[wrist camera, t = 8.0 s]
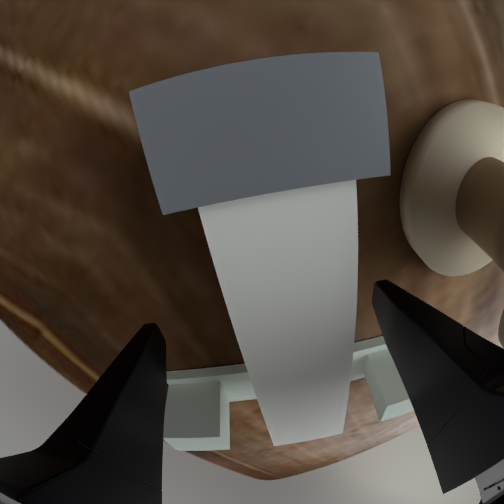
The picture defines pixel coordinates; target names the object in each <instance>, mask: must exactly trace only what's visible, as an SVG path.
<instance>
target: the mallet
mask: <svg viewBox="0 0 504 504" xmlns="http://www.w3.org/2000/svg"><path fill="white" fill-rule="evenodd" d="M129 95H130V99H131V103H132V107H133V112H134V116H135V120H136V124H137V127H138V131H139V135H140V139H141V143H142V146H143V150H144V154H145V157H146V161H147V164H148V168H149V171H150V175H151V178H152V182H153V185H154V188H155V192H156V195H157V198H158V201H159V205H160V208H161V211H162V214H163V215H166V214H170V213H175V212H179V211H184V210H188V209H193V208H198V210H199V214H200V218H201V221H202V225H203V228H204V232H205V235H206V239H207V242H208V246H209V249H210V253H211V256H212V260H213V263H214V267H215V270H216V273H217V277H218V280H219V283H220V287H221V290H222V293H223V296H224V300H225V303H226V306H227V309H228V313H229V316H230V319H231V322H232V325H233V328H234V331H235V335H236V338H237V341H238V344H239V347H240V350H241V353H242V356H243V359H244V362H245V365H246V368H247V371H248V374H249V377H250V380H251V383H252V386H253V389H254V392H255V394H256V397H257V400H258V403H259V406H260V409H261V412H262V414H263V417H264V420H265V423H266V425H267V428H268V431H269V434H270V436H271V439H272V442H273V445H274V446H278V445H285V444H292V443H298V442H304V441H309V440H314V439H319V438H324V437H329V436H333V435H337V434H342V433H343V428H344V422H345V416H346V409H347V403H348V395H349V388H350V380H351V371H352V361H353V351H354V339H355V326H356V309H357V286H358V211H357V188H356V180H358V179H365V178H373V177H381V176H389V175H391V171H390V147H389V131H388V119H387V108H386V99H385V91H384V83H383V76H382V69H381V63H380V57H379V52H324V53H307V54H295V55H285V56H276V57H268V58H261V59H255V60H248V61H242V62H237V63H231V64H226V65H221V66H216V67H212V68H207V69H203V70H199V71H195V72H191V73H187V74H183V75H179V76H176V77H172V78H169V79H165V80H162V81H159V82H156V83H152V84H149V85H146V86H143V87H140V88H137V89H135V90H132V91H129Z"/></svg>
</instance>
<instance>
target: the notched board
mask: <svg viewBox="0 0 504 504" xmlns="http://www.w3.org/2000/svg"><path fill="white" fill-rule="evenodd" d="M364 377H365V378H366V381H367V384H368V387H369V390H370V393H371V396H372V399H373V402H374V405H375V408H376V411H377V414H378V417H379V421H380V422H382V421H385V420H388V419H391V418H394V417H397V416H400V415H403V414H406V413H409V412H411V411H414V409H413V406H412V404H411V401H410V399H409V396H408V394H407V391H406V389H405V387H404V384H403V382H402V380H401V377H400V375H399V373H398V370H397V368H396V366H395V364H394V361H393V359H392V357H391V355H390V352H389V350H388V348H387V346H386V343H385V340H384V338H383V336H379V337H376V338H372V339H368V340H364V341H360V342H356V343H354V351H353V361H352V371H351V380H350V381H353V380H357V379H361V378H364ZM167 383H168V384H169V386H168V393H167V400H166V408H165V416H164V432H163V439H164V440H165V441H166V442H167V443H168V444H170V445H171V446H172V447H173V448H174V449H176V450H178V451H179V450H180V451H202V450H227V449H230V430H229V402H233V401H242V400H251V399H257V397H256V394H255V392H254V389H253V386H252V383H251V380H250V377H249V374H248V371H247V368H246V365H245V363H244V364H237V365H229V366H220V367H211V368H201V369H190V370H178V371H167Z"/></svg>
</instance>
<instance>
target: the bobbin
mask: <svg viewBox="0 0 504 504" xmlns="http://www.w3.org/2000/svg"><path fill="white" fill-rule="evenodd" d="M399 210H400V218H401V223H402V227H403V231H404V234H405V236H406V239H407V241H408V242H409V244H410V246H411V247H412V248H413V250H414V251H415V252H416V253H417V254H418V256H419V257H420V258H421V259H422V260H423V262H424V263H425V264H426V265H427V266H428V267H429V268H430V269H431V270H433V271H434V272H436V273H438V274H441V275H445V276H462V275H466V274H469V273H472V272H475V271H477V270H479V269H480V268H482V267H484V266H485V265H487V264H488V263H490V262H491V261H492V260H493V261H494V262H495V263H496V264H497V265H498V266H499V267H500V268H501V269H502V270H503V271H504V108H503V107H501V106H499V105H495V104H492V103H488V102H484V101H480V100H476V99H465V100H459V101H456V102H454V103H451V104H449V105H447V106H446V107H444V108H442V109H441V110H440V111H439V112H437V113H436V114H435V115H434V116H433V117H432V118H431V119H430V120H429V121H428V123H427V124H426V125H425V126H424V128H423V129H422V131H421V132H420V133H419V135H418V137H417V139H416V140H415V142H414V144H413V146H412V148H411V151H410V153H409V156H408V158H407V161H406V164H405V168H404V171H403V176H402V181H401V186H400V197H399ZM498 336H499V341H500V343H501V345H502V346H503V348H504V310H503V313H502V316H501V320H500V324H499V332H498Z"/></svg>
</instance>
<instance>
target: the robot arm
mask: <svg viewBox="0 0 504 504" xmlns="http://www.w3.org/2000/svg"><path fill="white" fill-rule="evenodd" d="M372 305H373V308H374V311H375V314H376V317H377V320H378V323H379V325H380V328H381V331H382V335H383V338H384V340H385V343H386V346H387V348H388V350H389V352H390V355H391V357H392V359H393V361H394V364H395V366H396V368H397V370H398V373H399V375H400V377H401V380H402V382H403V384H404V387H405V389H406V391H407V394H408V396H409V399H410V401H411V404H412V406H413V409H414V411H415V414H416V416H417V419H418V422H419V424H420V427H421V429H422V432H423V435H424V438H425V440H426V443H427V446H428V449H429V452H430V455H431V458H432V461H433V464H434V467H435V470H436V472H437V476H438V479H439V482H440V485H441V489H442V492H443V494H444V493H446V492H448V491H450V490H452V489H454V488H456V487H458V486H460V485H462V484H464V483H466V482H467V481H469V480H471V479H473V478H475V479H476V482H477V484H478V488H479V491H480V496H481V501H480V503H479V504H504V349H503V348H501V347H499V346H497V345H495V344H493V343H492V342H490V341H488V340H486V339H484V338H482V337H481V336H479V335H478V334H476V333H474V332H473V331H471V330H469V329H468V328H466V327H463V325H461V324H460V323H458V322H456V321H455V320H453V319H452V318H450V317H448V316H447V315H445V314H444V313H442V312H440V311H439V310H437V309H435V308H434V307H432V306H430V305H429V304H427V303H425V302H424V301H422V300H420V299H419V298H417V297H415V296H414V295H412V294H410V293H409V292H407V291H405V290H404V289H402V288H400V287H398V286H397V285H395V284H393V283H392V282H390V281H388V280H380V281H376V282H375V283H374V288H373V297H372ZM166 388H167V370H166V342H165V338H164V337H163V335H162V333H161V331H160V329H159V327H158V326H157V324H156V323H148V324H144V325H143V326H142V327H141V328H140V330H139V331H138V332H137V333H136V334H135V335H134V337H133V338H132V339H131V340H130V342H129V343H128V344H127V345H126V346H125V348H124V349H123V350H122V351H121V352H120V354H119V355H118V356H117V357H116V359H115V360H114V361H113V362H112V363H111V365H110V366H109V367H108V368H107V370H106V371H105V372H104V373H103V375H102V376H101V377H100V378H99V380H98V381H97V382H96V383H95V385H94V386H93V387H92V388H91V390H90V391H89V392H88V394H87V395H86V396H85V397H84V398H83V400H82V401H81V402H80V403H79V405H78V406H77V407H76V408H75V410H74V411H73V412H72V413H71V414H70V415H69V416H68V418H67V419H66V420H65V421H64V422H63V423H62V424H61V425H60V426H59V427H58V429H56V431H55V432H54V433H53V434H52V435H51V436H50V437H49V438H48V439H47V440H46V441H45V443H43V445H41V446H40V447H39V448H37V449H35V450H32V451H30V452H26V453H21V454H17V455H13V456H8V457H3V458H0V504H162V491H161V490H162V454H163V432H164V415H165V401H166Z"/></svg>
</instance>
